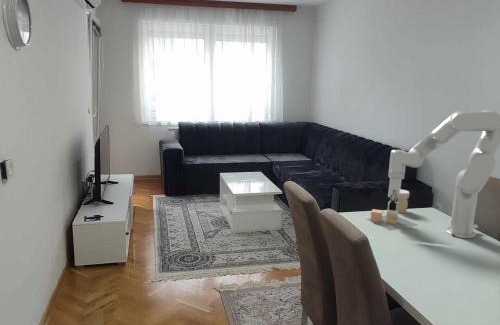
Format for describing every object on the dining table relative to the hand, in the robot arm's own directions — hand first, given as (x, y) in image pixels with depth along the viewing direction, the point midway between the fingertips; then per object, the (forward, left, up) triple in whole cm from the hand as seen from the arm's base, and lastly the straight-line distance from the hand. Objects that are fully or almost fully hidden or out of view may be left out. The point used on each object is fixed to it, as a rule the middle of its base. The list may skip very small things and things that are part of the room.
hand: (393, 207), depth 201 cm
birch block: (0, 0, -3) cm, 3 cm away
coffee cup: (-18, -13, -9) cm, 24 cm away
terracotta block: (+6, -5, -8) cm, 11 cm away
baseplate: (0, 0, -9) cm, 9 cm away
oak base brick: (0, 0, -8) cm, 8 cm away
